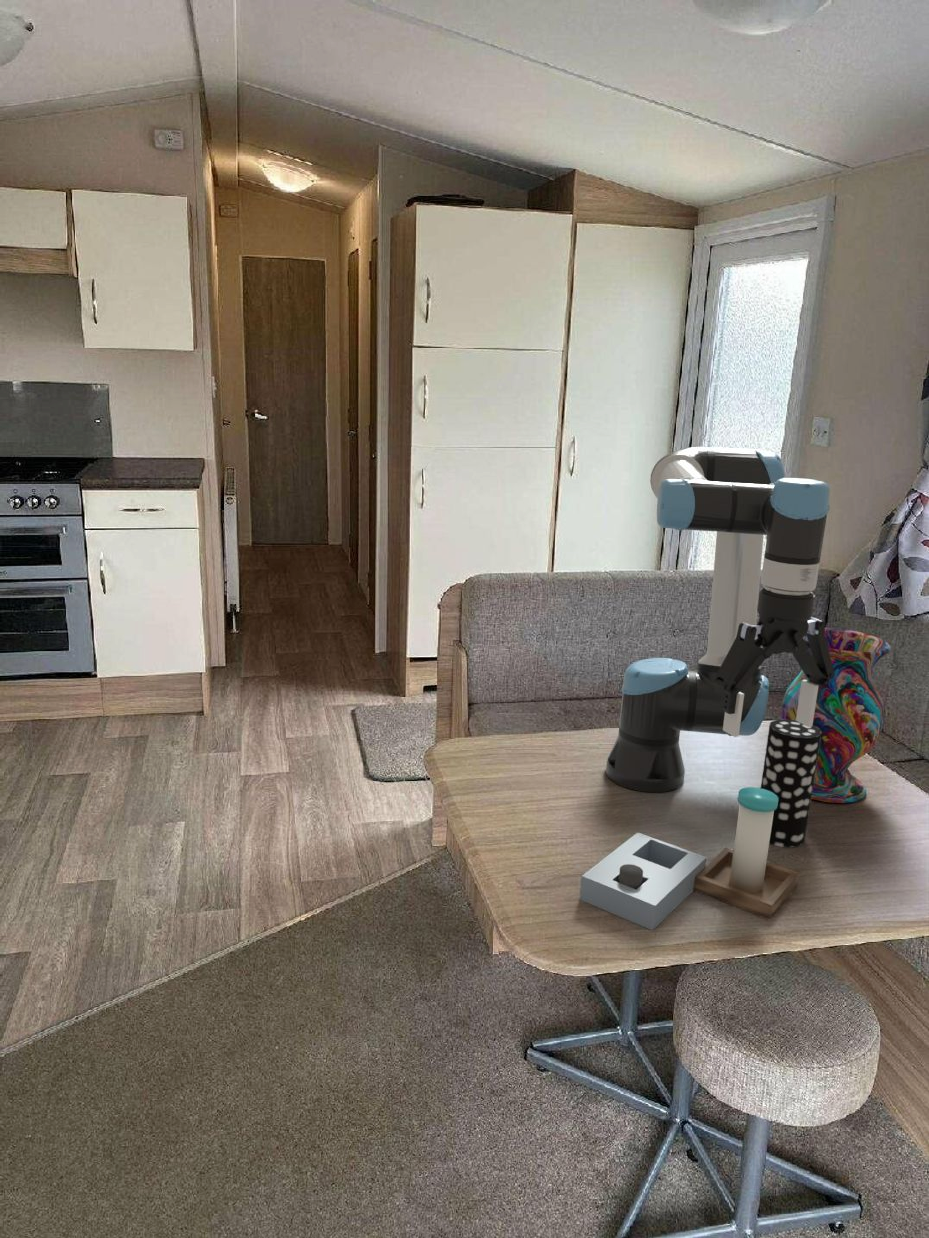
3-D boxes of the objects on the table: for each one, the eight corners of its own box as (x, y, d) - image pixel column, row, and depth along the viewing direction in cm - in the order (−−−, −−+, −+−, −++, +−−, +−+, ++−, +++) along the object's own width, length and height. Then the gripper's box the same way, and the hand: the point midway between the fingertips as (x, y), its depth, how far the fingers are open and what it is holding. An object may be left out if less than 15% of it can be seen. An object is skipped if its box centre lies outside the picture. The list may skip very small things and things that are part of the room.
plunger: (613, 897, 140) (615, 870, 139) (623, 888, 143) (626, 861, 142) (633, 906, 138) (636, 878, 137) (644, 896, 141) (647, 869, 140)
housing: (579, 899, 141) (581, 875, 140) (635, 854, 155) (637, 832, 154) (652, 930, 134) (655, 905, 133) (703, 879, 148) (706, 857, 147)
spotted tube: (804, 829, 166) (821, 724, 161) (804, 851, 159) (822, 741, 154) (755, 820, 169) (770, 716, 164) (753, 841, 161) (768, 732, 156)
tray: (693, 890, 145) (695, 876, 145) (723, 860, 155) (725, 847, 154) (769, 919, 138) (771, 905, 138) (796, 886, 148) (798, 873, 147)
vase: (823, 814, 173) (848, 658, 165) (751, 774, 188) (771, 630, 180) (891, 797, 181) (918, 648, 173) (817, 760, 197) (838, 622, 189)
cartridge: (741, 897, 143) (753, 806, 139) (719, 878, 148) (730, 789, 144) (773, 892, 145) (786, 802, 141) (750, 873, 150) (762, 785, 146)
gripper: (733, 600, 126) (714, 747, 131) (874, 590, 135) (851, 728, 141) (699, 587, 132) (682, 728, 138) (835, 579, 142) (815, 711, 147)
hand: (767, 728), depth 139 cm, fingers open, 13 cm apart
